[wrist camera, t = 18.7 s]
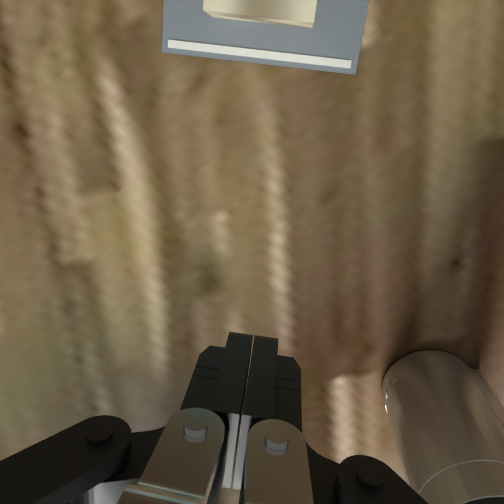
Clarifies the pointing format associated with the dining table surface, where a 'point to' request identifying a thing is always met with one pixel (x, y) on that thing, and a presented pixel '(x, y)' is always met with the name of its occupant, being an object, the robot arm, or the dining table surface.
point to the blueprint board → (269, 36)
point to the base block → (264, 11)
